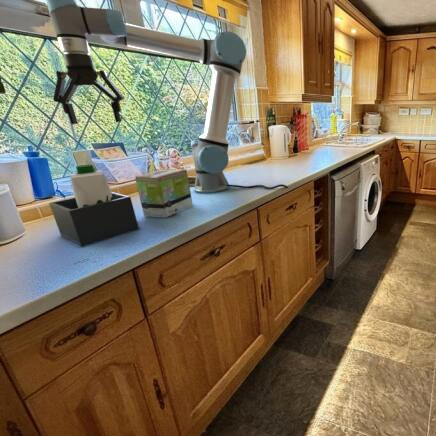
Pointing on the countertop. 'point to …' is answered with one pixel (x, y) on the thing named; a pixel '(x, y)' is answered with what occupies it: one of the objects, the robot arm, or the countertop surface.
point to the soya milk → (90, 186)
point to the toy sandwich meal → (191, 180)
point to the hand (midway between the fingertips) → (97, 123)
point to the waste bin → (94, 219)
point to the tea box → (164, 192)
